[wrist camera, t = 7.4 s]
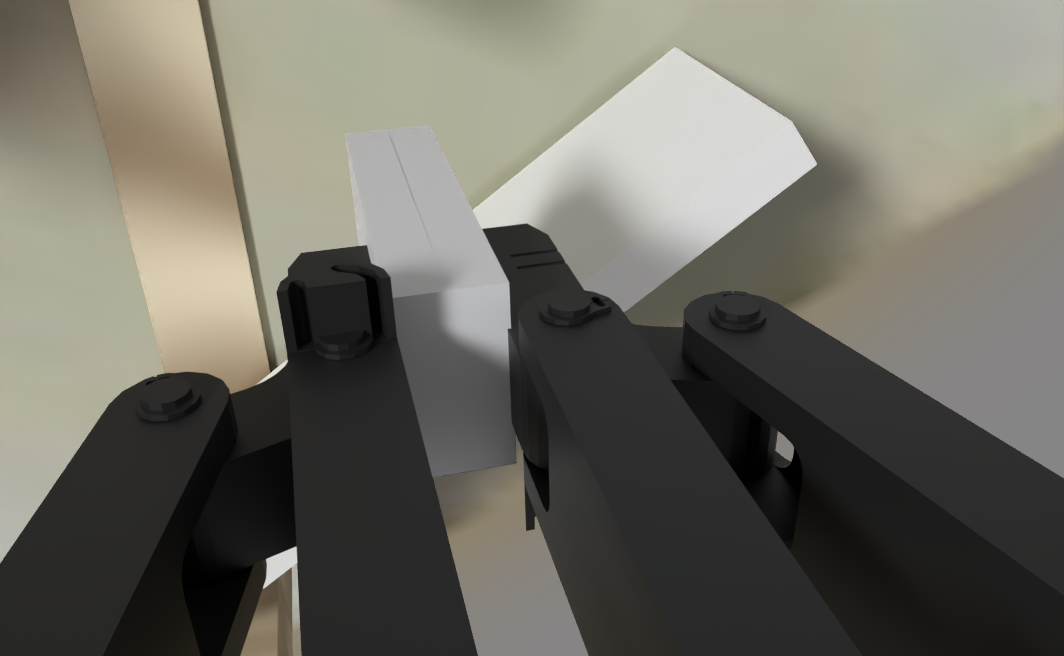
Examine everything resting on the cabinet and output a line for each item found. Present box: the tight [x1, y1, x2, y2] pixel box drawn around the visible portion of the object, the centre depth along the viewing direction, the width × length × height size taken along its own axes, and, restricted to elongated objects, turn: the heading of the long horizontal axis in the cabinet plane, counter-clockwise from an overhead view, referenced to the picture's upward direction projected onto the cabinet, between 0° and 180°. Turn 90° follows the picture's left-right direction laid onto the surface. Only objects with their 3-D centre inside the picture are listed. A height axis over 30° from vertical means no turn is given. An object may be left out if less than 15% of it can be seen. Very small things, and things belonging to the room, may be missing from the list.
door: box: [256, 47, 817, 589], centre depth 24 cm, size 17×2×7 cm, turn 127°
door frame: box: [69, 0, 293, 656], centre depth 19 cm, size 27×3×10 cm, turn 2°
